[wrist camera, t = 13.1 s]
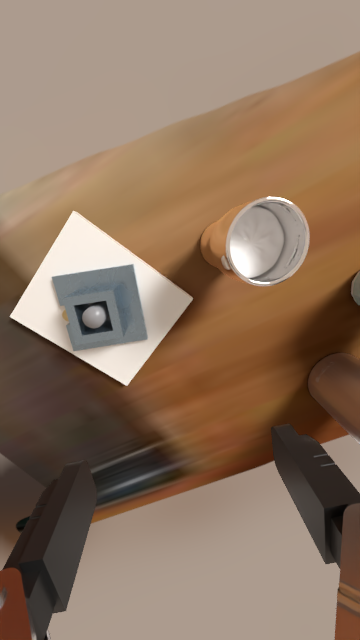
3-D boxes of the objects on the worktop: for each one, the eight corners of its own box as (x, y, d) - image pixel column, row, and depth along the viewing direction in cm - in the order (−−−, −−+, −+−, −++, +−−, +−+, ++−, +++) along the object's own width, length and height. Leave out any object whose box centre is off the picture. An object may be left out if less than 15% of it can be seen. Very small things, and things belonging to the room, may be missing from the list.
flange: (133, 263, 32) (128, 267, 27) (147, 336, 35) (145, 351, 30) (54, 275, 32) (35, 281, 27) (75, 348, 35) (62, 364, 30)
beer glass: (255, 257, 34) (322, 266, 20) (208, 279, 35) (241, 303, 20) (237, 206, 32) (298, 176, 18) (188, 230, 33) (209, 218, 18)
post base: (192, 296, 35) (198, 307, 29) (128, 380, 38) (121, 406, 32) (77, 212, 31) (56, 204, 25) (16, 313, 34) (-17, 329, 28)
